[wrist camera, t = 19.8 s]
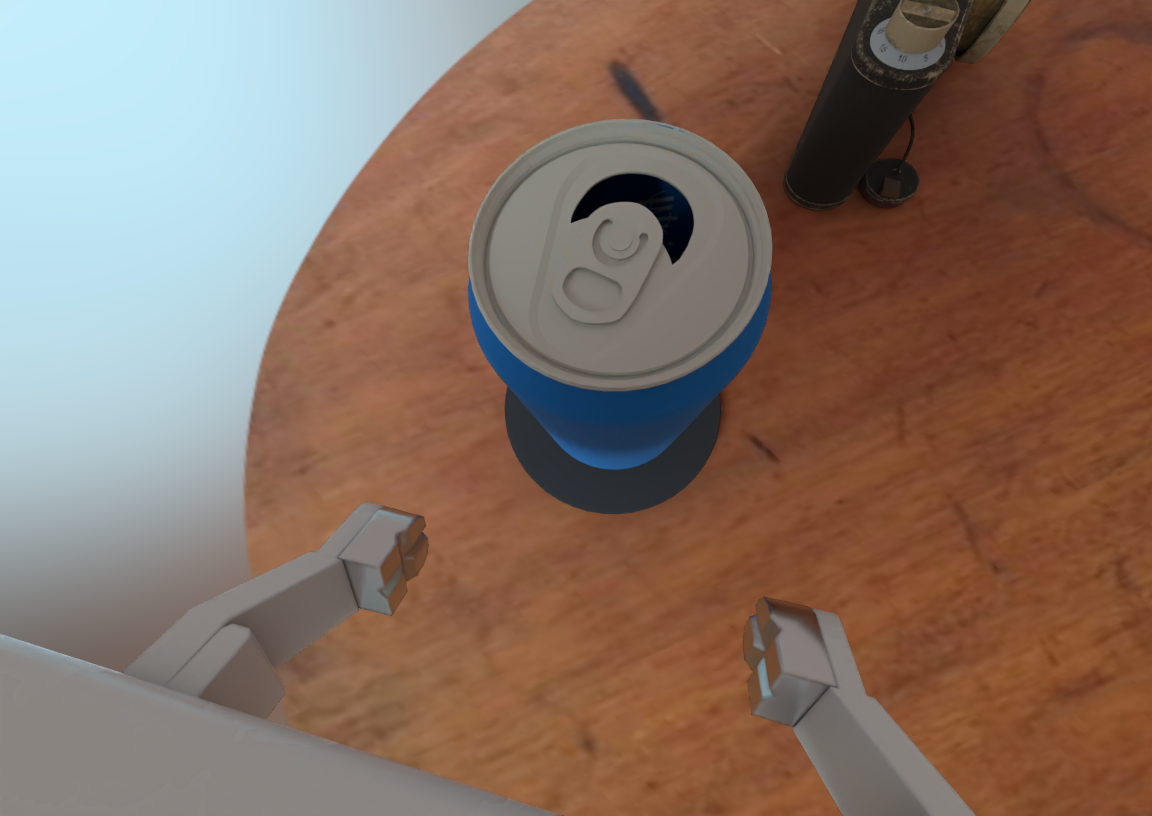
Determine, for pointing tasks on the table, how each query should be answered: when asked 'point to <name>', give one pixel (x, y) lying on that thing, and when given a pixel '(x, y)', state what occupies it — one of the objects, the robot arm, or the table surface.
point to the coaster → (610, 486)
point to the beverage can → (620, 283)
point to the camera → (885, 93)
